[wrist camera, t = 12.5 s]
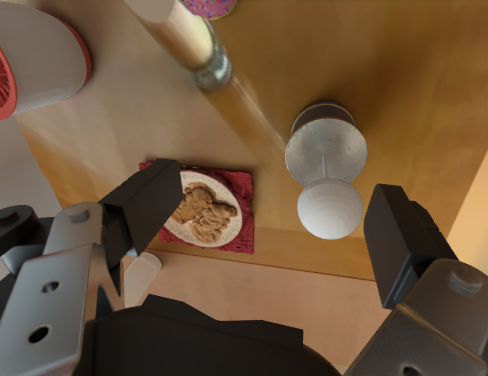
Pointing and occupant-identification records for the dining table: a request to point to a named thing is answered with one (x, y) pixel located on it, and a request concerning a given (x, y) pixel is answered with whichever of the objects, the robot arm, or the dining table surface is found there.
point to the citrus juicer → (38, 60)
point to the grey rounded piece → (325, 144)
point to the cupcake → (210, 8)
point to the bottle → (140, 277)
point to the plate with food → (212, 211)
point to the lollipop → (330, 207)
